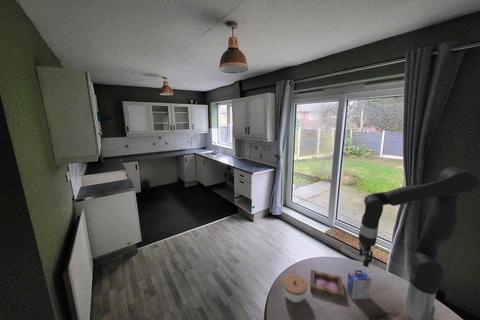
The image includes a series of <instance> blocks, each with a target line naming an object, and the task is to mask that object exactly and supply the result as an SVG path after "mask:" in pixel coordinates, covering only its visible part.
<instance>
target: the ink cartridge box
mask: <svg viewBox="0 0 480 320" xmlns="http://www.w3.org/2000/svg"><path fill="white" fill-rule="evenodd" d="M354 271H355V272H349V273H348V275H347V285H346V293H347V295H348V296H349V297H350V299H351V300H369V299H370V292H371V286H372V285H371V284H372V279H371V277H370V276H369V275H368V274H367V273H366V272H363V271H362V269H361V270H360V269H359V270H358V269H357V270H354Z"/></svg>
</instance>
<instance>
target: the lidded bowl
mask: <svg viewBox="0 0 480 320" xmlns="http://www.w3.org/2000/svg"><path fill="white" fill-rule="evenodd" d="M307 286H308V285H307V281H305V279H304V278H303V277H302V276H300V275H298V274H293V273H290V274H286V275H285V276H284V277H283V279H282V289H283V290H282V292H283V293H284V295H285V298H287V300H289V301H290V302H291V303H293V302H294V303H293V304H298V303H301V302H302V301H304V300H305V297H306V294H307V288H308V287H307Z"/></svg>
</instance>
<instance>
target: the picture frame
mask: <svg viewBox="0 0 480 320" xmlns="http://www.w3.org/2000/svg"><path fill="white" fill-rule="evenodd" d="M309 288H310V290H309V291H310V292H312V293H314V294H318V295H321V296H324V297H325V296H326V297H329V298H333V299H335V300H339V301H343V302H345V290H344V284H343V279H342V276H340V275H334V274H330V273H327V272H321V271H317V270H313V269H311V270H310V287H309Z"/></svg>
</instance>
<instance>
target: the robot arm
mask: <svg viewBox="0 0 480 320" xmlns="http://www.w3.org/2000/svg"><path fill="white" fill-rule="evenodd" d="M479 186H480V179H479V177H478V175H476V174H474V173H473V172H470V171H468V170H466V169H463V168H461V167H456V166H450V167H446V168H445V169H443V170H441V172H440V173H439V175H438V178H437V180H436V181H433V182H429V183H423V184H416V185H406V186H402V187H399V188H398V187H397V188H394V189H391V190H389V191H383V192H374V193H370V194H368V195H366V196H365V197H364V199H363V203H364V205H365V208H364V213H363V215H362V218H361V224H360V227H359V231H358V241H359V242H358V245H359V252H358V254H359V256H362V257H363V261H362V266H363V267H365V268H369V264H371V263H372V261H373V256H374V255H373V254H374V252H373V251H372V249H373V248H372V246H375V245H376V244H377V238H378V234H379V223H380V219H381V217H382V215H383V211H384V206H386V205H390V206H393V207H396V206H401V205H404V204H408V203H411V202H416V201H420V200H421V201H422V200H427V199H429V198H430V199H431V198H432V199H433V200H432V202H431V205H430V208H429V211H428V213H427V216H426V219H425V221H424V224H423V228H422V232H421V234H420V238H419V240H418V243H417V244H416V246H415V248H414V250H413V252H412V254H411V262H412V264H413V265H414V267H415V269H416V270H415V273H413V274H411V276H410V279H409V283H408V289H407V293H406V299H405V304H404V312H405V314H406V315H407V316H408V317H409V318H410V319H411V320H434V316H435V312H436V306H435V301H436V295H437V292H438V291H439V290H440V288H441V287H442V284H443V281H444V280H443V279H444V277H445V276H444V275H445V269H444V268H443V265H442V264H441V263H440V262H439V261H438V259H437V255H438V251H439V249H440V246H442V245H443V244H444V243H446V242H447V241H449V240H450V239H452V238H453V235H454V234H455V231H456V229H457V227H458V222H459V211H458V209H459V208H458V201H459V197H460V194H466V193H471V192H473V191H475V190H477V188H478V187H479Z"/></svg>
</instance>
